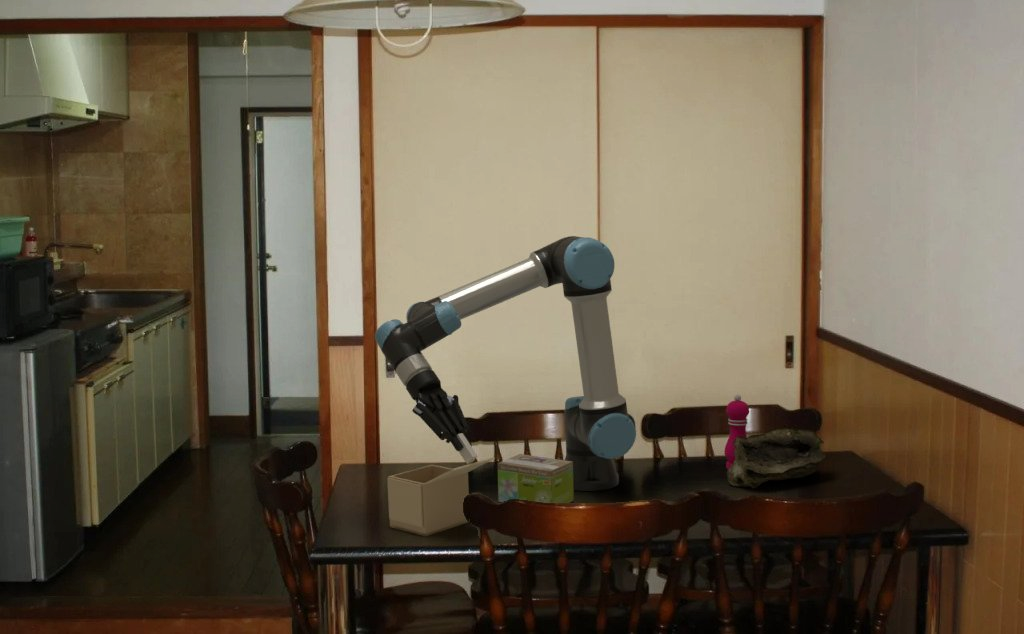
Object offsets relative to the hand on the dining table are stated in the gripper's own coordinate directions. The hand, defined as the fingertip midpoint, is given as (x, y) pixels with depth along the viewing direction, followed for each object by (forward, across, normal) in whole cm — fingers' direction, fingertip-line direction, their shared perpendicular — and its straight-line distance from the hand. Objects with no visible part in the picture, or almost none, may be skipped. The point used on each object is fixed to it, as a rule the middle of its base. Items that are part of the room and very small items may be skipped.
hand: (472, 460), depth 269 cm
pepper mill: (+22, -86, -3) cm, 89 cm away
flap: (-2, 0, -10) cm, 11 cm away
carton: (+2, 0, -23) cm, 23 cm away
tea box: (+15, -16, -10) cm, 25 cm away
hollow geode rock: (+33, -81, +8) cm, 88 cm away
